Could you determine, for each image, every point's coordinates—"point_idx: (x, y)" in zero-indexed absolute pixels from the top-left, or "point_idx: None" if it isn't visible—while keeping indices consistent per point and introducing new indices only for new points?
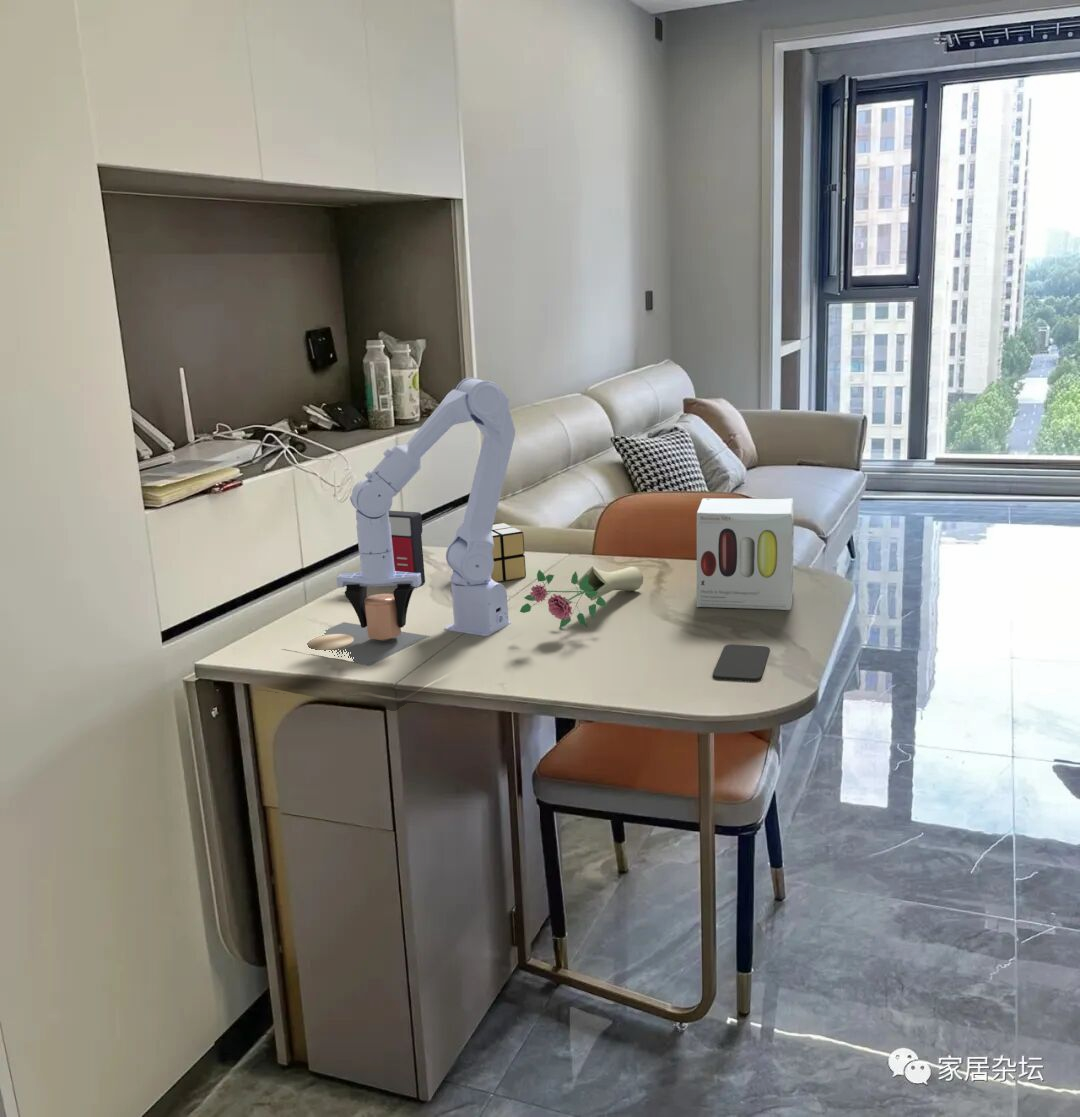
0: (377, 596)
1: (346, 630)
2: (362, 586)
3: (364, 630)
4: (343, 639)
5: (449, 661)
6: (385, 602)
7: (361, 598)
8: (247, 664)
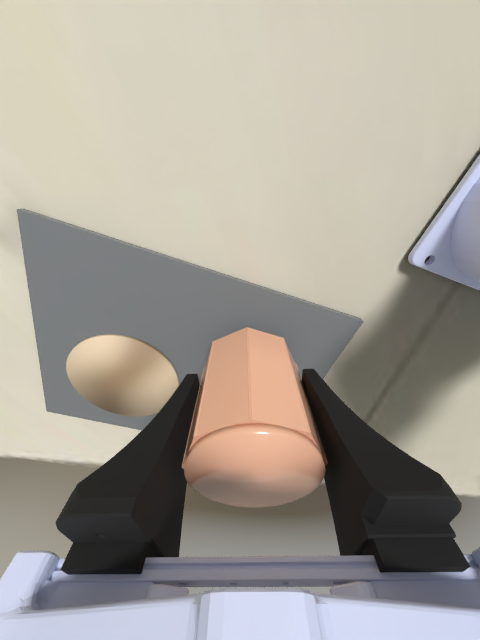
0: (227, 461)
1: (97, 295)
2: (152, 541)
3: (152, 290)
4: (146, 370)
5: (407, 424)
6: (290, 500)
7: (176, 492)
8: (50, 451)
